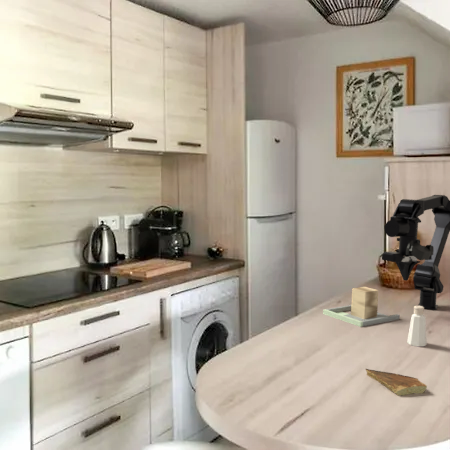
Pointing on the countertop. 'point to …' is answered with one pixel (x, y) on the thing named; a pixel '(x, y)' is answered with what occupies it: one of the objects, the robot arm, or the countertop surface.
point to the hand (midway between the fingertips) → (405, 280)
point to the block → (364, 302)
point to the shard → (398, 382)
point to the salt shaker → (417, 328)
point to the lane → (358, 321)
